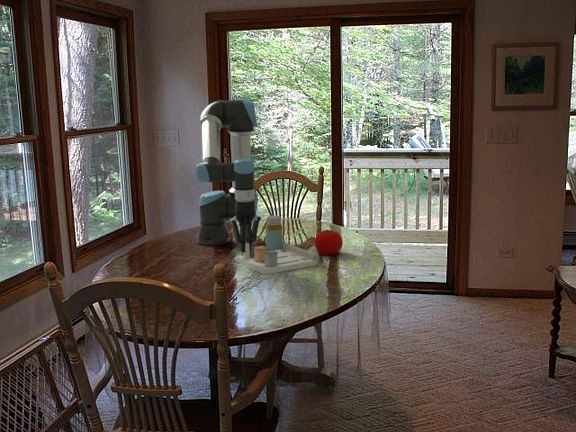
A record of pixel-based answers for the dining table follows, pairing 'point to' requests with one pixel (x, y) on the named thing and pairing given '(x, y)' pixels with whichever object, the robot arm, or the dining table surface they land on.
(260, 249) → the slider mid
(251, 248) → the slider left
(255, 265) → the white base board
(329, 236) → the tomato
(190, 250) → the dining table surface
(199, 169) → the robot arm
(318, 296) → the dining table surface
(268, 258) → the slider right
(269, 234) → the bottle
